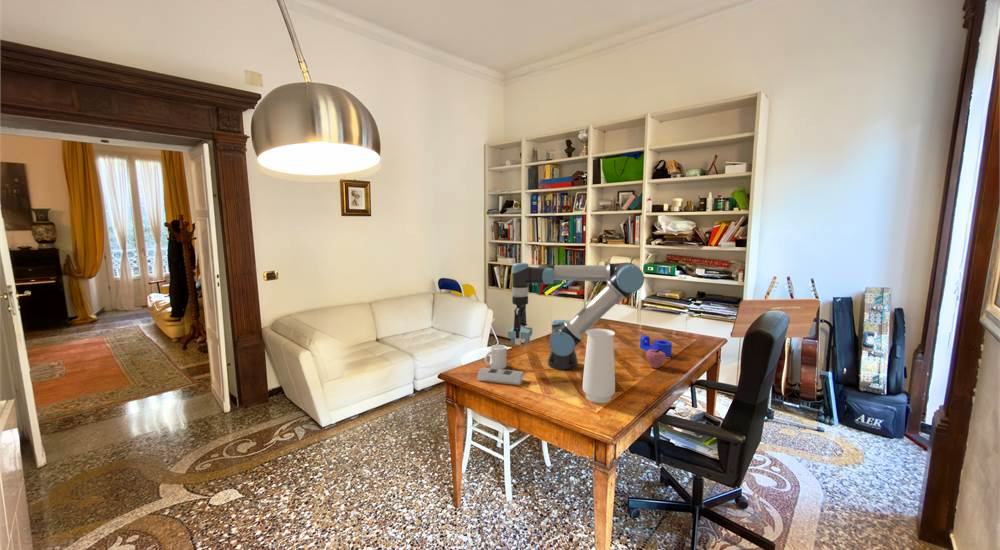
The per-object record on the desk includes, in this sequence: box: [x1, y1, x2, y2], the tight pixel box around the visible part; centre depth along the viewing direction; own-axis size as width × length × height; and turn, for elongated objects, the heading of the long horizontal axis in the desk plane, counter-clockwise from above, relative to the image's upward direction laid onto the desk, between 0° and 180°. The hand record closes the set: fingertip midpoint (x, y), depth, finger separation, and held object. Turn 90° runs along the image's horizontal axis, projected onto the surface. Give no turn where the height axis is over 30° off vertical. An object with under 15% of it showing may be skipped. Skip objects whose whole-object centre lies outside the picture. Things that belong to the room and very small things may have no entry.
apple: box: [645, 349, 667, 369], centre depth 199 cm, size 10×9×10 cm
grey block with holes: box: [477, 366, 524, 386], centre depth 183 cm, size 20×6×4 cm, turn 74°
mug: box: [484, 344, 507, 370], centre depth 199 cm, size 12×8×10 cm
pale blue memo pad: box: [507, 326, 533, 345], centre depth 192 cm, size 10×9×6 cm
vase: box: [582, 327, 616, 404], centre depth 163 cm, size 13×13×28 cm
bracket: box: [639, 334, 673, 357], centre depth 221 cm, size 20×9×8 cm, turn 21°
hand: (520, 341), depth 192 cm, fingers closed on pale blue memo pad, 9 cm apart
